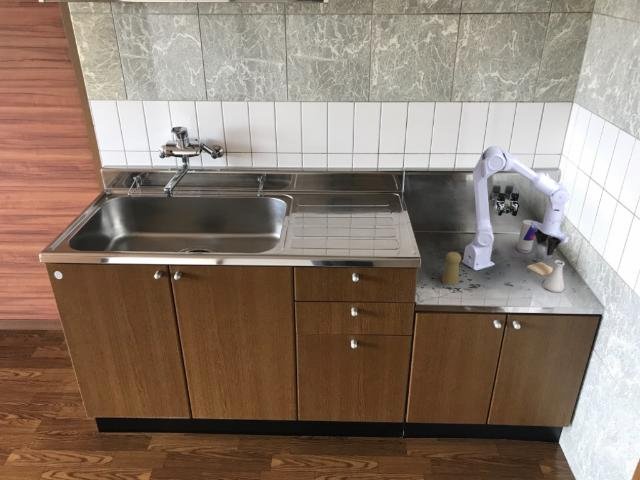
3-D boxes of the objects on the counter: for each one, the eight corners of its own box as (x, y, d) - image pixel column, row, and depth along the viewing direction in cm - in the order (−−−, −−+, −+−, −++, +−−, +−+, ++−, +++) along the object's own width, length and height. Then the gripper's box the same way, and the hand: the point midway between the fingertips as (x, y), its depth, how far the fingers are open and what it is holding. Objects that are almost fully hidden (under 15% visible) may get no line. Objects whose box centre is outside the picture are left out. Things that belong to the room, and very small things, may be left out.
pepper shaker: (459, 277, 185) (463, 251, 180) (458, 286, 180) (462, 259, 175) (442, 275, 187) (445, 248, 182) (440, 283, 182) (444, 256, 177)
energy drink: (532, 253, 201) (538, 226, 196) (517, 252, 202) (523, 224, 197) (530, 247, 206) (535, 220, 200) (516, 246, 207) (521, 219, 201)
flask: (562, 295, 175) (569, 269, 171) (540, 289, 179) (546, 264, 174) (566, 285, 181) (572, 260, 176) (544, 279, 184) (550, 255, 179)
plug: (540, 260, 185) (543, 248, 183) (532, 256, 188) (535, 244, 185) (555, 255, 188) (558, 243, 186) (547, 251, 191) (550, 239, 188)
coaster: (541, 276, 186) (542, 274, 186) (526, 267, 192) (527, 265, 191) (555, 271, 189) (555, 270, 189) (540, 263, 195) (540, 261, 194)
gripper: (578, 223, 177) (569, 258, 183) (544, 208, 188) (537, 241, 194) (563, 228, 174) (555, 263, 180) (530, 212, 185) (523, 245, 192)
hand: (545, 252), depth 187 cm, fingers closed on plug, 3 cm apart
